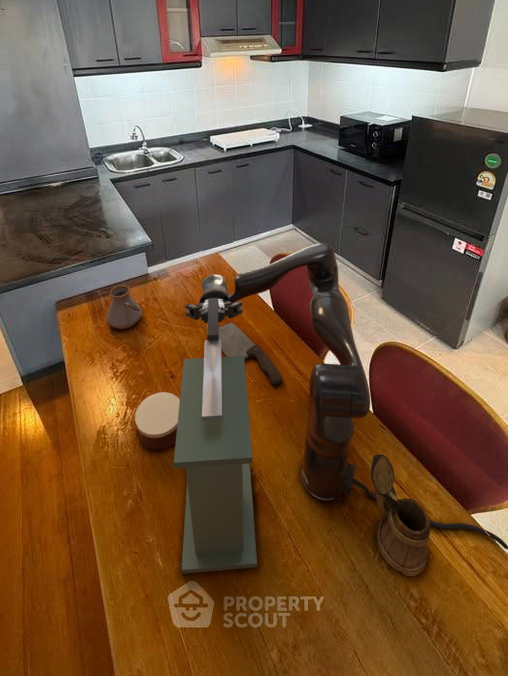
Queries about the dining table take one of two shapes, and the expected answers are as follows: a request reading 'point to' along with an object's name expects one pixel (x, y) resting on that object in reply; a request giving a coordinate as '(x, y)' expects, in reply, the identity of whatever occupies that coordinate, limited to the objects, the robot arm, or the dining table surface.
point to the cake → (158, 420)
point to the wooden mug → (399, 523)
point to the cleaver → (246, 350)
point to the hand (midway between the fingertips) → (212, 317)
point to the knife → (212, 366)
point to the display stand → (216, 472)
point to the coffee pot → (122, 308)
